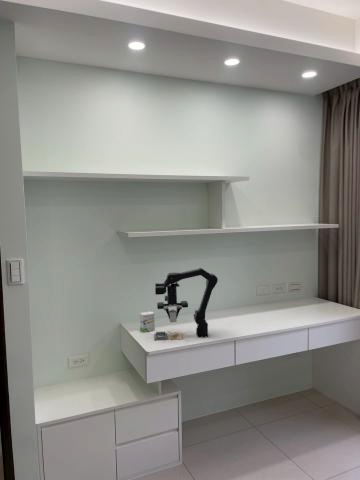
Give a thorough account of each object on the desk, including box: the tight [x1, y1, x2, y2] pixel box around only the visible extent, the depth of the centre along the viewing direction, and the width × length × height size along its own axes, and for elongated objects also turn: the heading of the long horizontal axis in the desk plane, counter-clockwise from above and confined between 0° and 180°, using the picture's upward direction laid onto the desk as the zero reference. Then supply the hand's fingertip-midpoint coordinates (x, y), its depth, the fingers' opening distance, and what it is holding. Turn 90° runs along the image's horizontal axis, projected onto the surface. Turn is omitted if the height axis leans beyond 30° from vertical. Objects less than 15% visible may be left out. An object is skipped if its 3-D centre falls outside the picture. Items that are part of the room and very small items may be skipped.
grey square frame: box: [153, 331, 169, 341], centre depth 228 cm, size 8×9×2 cm
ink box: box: [139, 311, 156, 333], centre depth 240 cm, size 8×5×12 cm, turn 116°
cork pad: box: [167, 333, 184, 341], centre depth 229 cm, size 9×9×1 cm
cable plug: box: [169, 309, 178, 323], centre depth 227 cm, size 4×5×7 cm
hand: (172, 318), depth 227 cm, fingers closed on cable plug, 4 cm apart
